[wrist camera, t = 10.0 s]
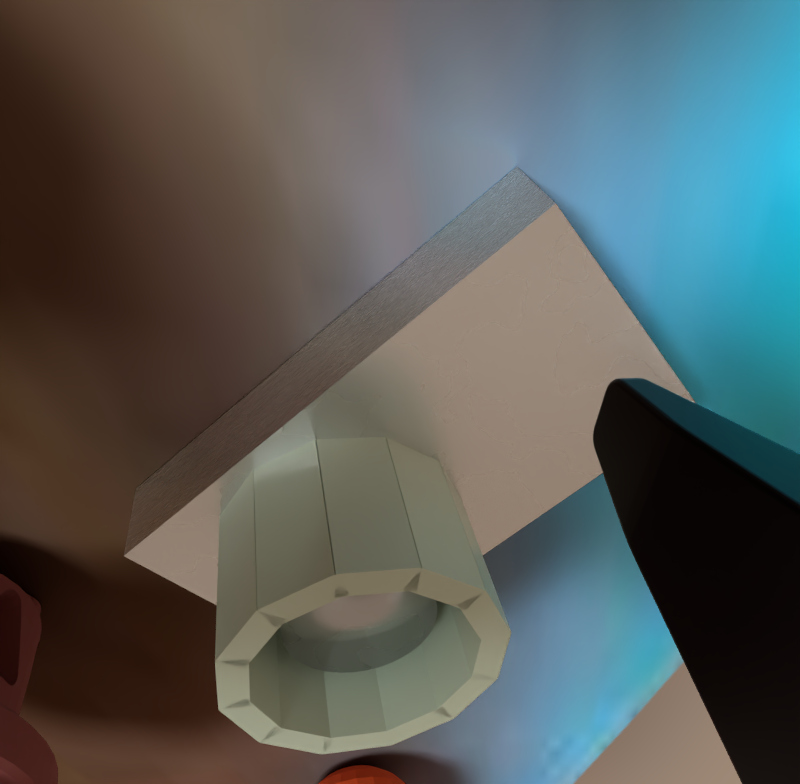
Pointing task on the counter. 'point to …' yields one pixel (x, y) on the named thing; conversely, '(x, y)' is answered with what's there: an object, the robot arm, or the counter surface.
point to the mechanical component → (20, 690)
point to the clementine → (361, 776)
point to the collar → (350, 576)
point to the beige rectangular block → (425, 406)
